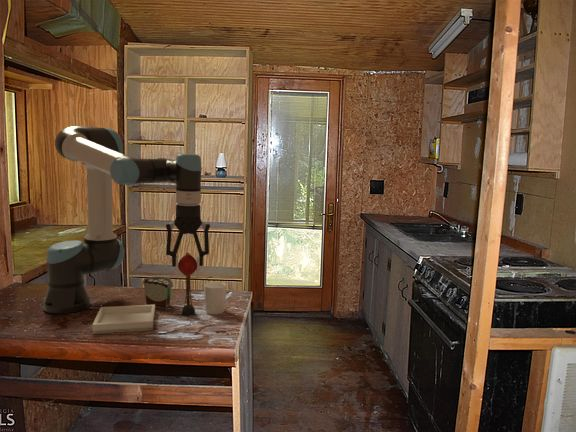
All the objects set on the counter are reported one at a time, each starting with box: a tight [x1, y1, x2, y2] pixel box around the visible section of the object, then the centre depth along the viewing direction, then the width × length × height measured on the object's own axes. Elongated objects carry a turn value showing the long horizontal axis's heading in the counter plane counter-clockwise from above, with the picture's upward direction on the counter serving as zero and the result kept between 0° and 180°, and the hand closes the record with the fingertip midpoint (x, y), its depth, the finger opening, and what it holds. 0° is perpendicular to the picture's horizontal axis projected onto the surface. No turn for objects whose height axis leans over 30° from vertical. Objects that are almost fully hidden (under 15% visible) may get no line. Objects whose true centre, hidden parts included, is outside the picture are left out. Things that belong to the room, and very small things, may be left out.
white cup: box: [203, 281, 227, 315], centre depth 161 cm, size 8×8×10 cm
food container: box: [142, 276, 174, 310], centre depth 166 cm, size 12×6×10 cm, turn 65°
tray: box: [91, 304, 156, 335], centre depth 149 cm, size 18×16×3 cm
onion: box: [178, 251, 197, 278], centre depth 142 cm, size 6×6×8 cm
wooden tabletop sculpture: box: [178, 262, 196, 317], centre depth 157 cm, size 6×5×20 cm
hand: (187, 275), depth 142 cm, fingers closed on onion, 6 cm apart
